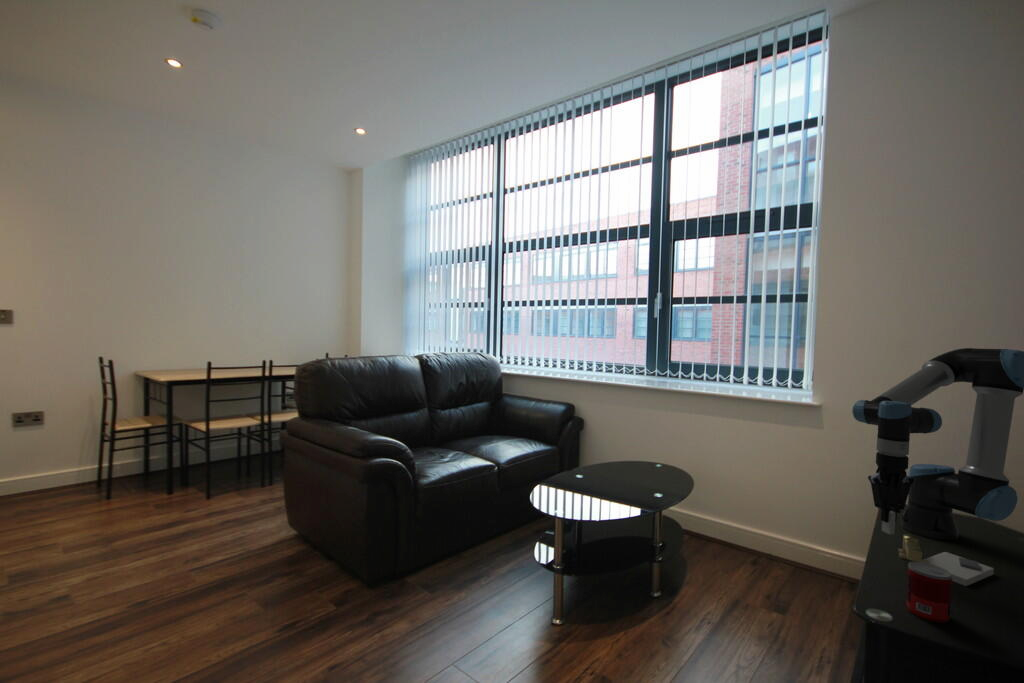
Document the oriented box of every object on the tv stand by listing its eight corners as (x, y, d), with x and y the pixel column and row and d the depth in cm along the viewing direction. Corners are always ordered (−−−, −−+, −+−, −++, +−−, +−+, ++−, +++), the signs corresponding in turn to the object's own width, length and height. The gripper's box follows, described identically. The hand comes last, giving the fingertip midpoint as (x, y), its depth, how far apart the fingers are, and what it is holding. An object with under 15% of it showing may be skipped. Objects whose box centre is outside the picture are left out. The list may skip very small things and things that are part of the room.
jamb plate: (898, 551, 148) (898, 548, 148) (919, 556, 146) (919, 553, 146) (900, 557, 144) (900, 554, 144) (921, 562, 141) (922, 559, 141)
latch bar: (901, 549, 147) (902, 533, 147) (916, 552, 145) (917, 536, 145) (906, 564, 138) (907, 547, 138) (922, 567, 136) (923, 550, 136)
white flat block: (944, 557, 145) (945, 549, 145) (993, 574, 135) (993, 565, 135) (917, 567, 138) (917, 558, 138) (966, 586, 128) (966, 576, 128)
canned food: (958, 625, 110) (960, 579, 110) (918, 620, 112) (920, 574, 112) (936, 607, 118) (938, 563, 118) (899, 602, 119) (901, 559, 119)
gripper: (883, 456, 136) (878, 538, 137) (924, 457, 137) (919, 538, 138) (861, 450, 144) (857, 527, 144) (900, 450, 145) (896, 527, 145)
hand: (887, 532), depth 141 cm, fingers closed
